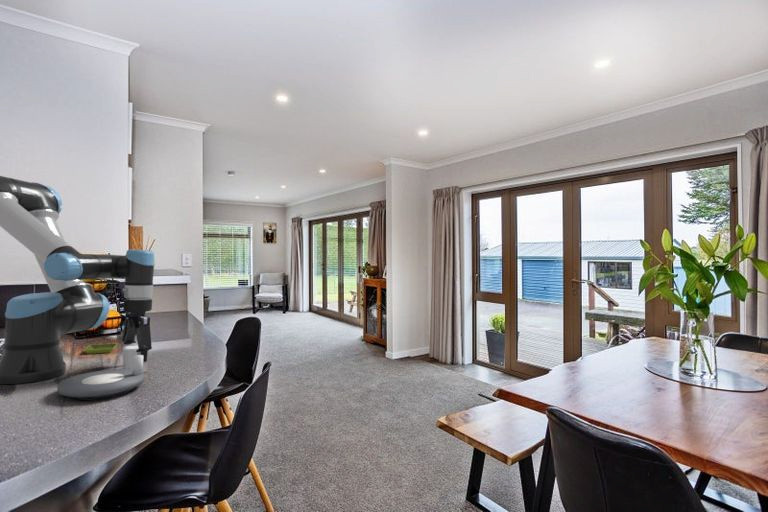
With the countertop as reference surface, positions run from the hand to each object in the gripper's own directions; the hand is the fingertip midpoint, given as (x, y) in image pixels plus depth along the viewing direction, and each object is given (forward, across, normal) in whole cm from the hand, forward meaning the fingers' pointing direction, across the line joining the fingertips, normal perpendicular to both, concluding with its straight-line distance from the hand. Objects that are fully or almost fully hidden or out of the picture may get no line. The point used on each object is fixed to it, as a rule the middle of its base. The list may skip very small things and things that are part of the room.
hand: (134, 368), depth 118 cm
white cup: (0, 0, 0) cm, 0 cm away
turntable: (-1, +16, -12) cm, 20 cm away
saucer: (+1, -32, -1) cm, 33 cm away
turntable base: (0, +16, -12) cm, 20 cm away
